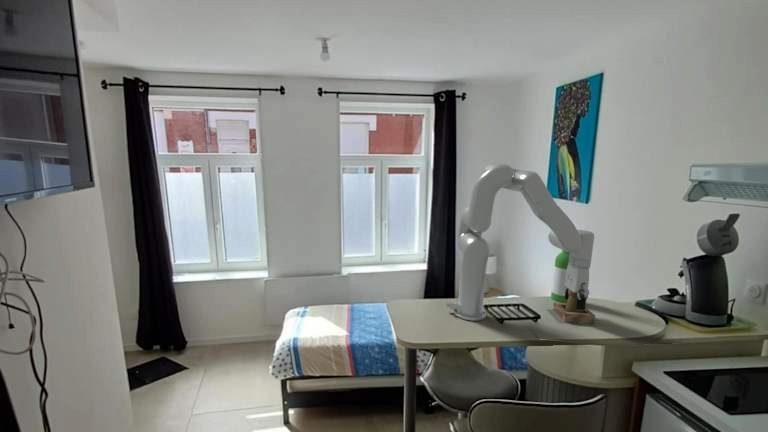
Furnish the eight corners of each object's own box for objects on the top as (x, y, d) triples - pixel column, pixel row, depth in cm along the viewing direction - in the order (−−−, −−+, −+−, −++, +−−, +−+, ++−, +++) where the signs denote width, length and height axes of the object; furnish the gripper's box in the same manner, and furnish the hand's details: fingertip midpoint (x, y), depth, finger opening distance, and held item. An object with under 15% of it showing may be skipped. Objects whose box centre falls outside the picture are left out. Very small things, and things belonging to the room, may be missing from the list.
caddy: (564, 322, 138) (565, 313, 138) (552, 310, 149) (553, 302, 149) (593, 324, 138) (595, 315, 137) (580, 312, 149) (581, 304, 148)
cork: (583, 318, 140) (587, 291, 138) (566, 316, 141) (570, 289, 139) (578, 312, 146) (581, 286, 144) (562, 310, 147) (565, 284, 145)
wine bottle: (546, 297, 165) (554, 233, 160) (560, 296, 167) (568, 232, 162) (559, 304, 157) (567, 237, 153) (573, 303, 160) (582, 236, 155)
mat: (558, 323, 138) (558, 322, 138) (545, 310, 150) (545, 309, 150) (596, 326, 137) (596, 325, 137) (580, 312, 150) (580, 311, 150)
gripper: (560, 255, 149) (555, 295, 151) (580, 268, 132) (574, 312, 134) (579, 256, 148) (574, 296, 151) (601, 269, 131) (595, 313, 134)
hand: (574, 304), depth 143 cm, fingers open, 9 cm apart
